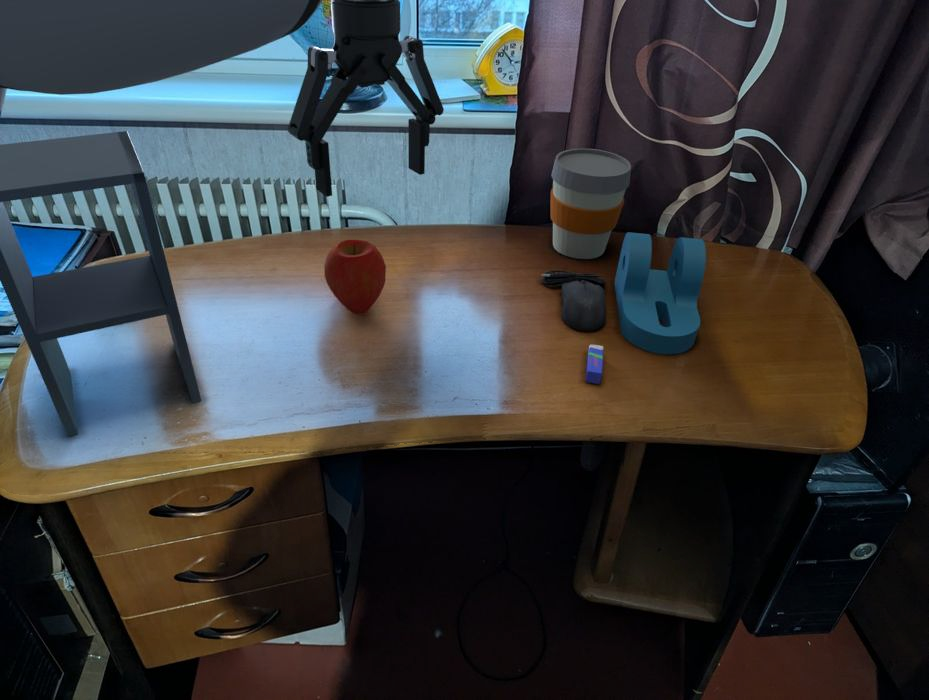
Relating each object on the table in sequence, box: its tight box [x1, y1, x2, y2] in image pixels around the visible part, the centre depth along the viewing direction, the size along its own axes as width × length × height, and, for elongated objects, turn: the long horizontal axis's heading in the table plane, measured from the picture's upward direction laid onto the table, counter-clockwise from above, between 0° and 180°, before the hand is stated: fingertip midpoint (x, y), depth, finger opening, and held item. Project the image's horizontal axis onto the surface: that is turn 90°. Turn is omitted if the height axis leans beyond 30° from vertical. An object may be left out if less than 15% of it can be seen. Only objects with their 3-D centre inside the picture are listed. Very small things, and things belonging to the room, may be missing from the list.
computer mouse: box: [541, 269, 607, 332], centre depth 97 cm, size 10×15×4 cm
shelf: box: [0, 130, 202, 438], centre depth 70 cm, size 12×14×28 cm
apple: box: [323, 239, 387, 315], centre depth 91 cm, size 9×8×11 cm
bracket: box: [613, 231, 707, 355], centre depth 93 cm, size 18×10×10 cm, turn 173°
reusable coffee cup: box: [550, 147, 632, 260], centre depth 109 cm, size 13×13×15 cm
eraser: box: [585, 343, 605, 385], centre depth 85 cm, size 2×6×2 cm, turn 167°
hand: (372, 181), depth 84 cm, fingers open, 13 cm apart
